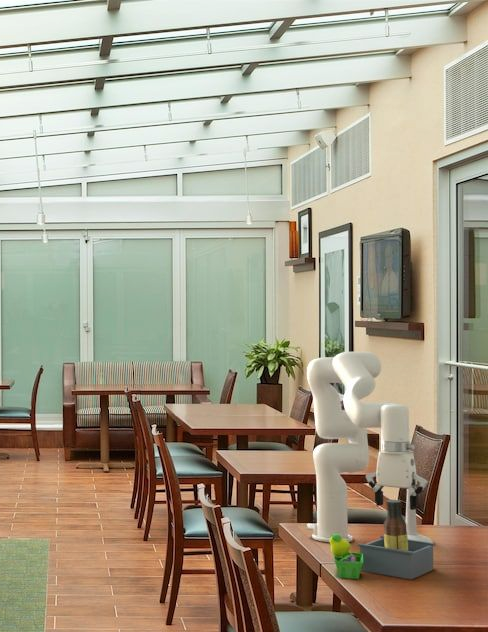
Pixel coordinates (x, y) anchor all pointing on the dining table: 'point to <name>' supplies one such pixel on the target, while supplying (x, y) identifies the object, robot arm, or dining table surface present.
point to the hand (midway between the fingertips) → (396, 507)
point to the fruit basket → (345, 558)
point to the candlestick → (413, 522)
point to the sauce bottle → (395, 527)
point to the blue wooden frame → (397, 559)
